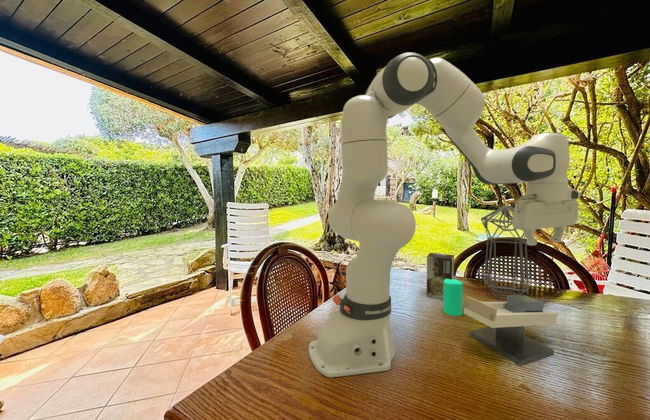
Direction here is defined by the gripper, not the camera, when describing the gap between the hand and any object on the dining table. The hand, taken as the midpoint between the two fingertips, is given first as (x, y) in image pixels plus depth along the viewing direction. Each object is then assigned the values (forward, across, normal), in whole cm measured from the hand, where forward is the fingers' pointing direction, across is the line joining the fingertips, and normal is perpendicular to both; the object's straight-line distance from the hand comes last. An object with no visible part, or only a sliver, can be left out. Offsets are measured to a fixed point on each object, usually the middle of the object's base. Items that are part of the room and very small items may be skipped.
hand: (544, 243), depth 74 cm
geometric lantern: (+27, +16, +24) cm, 39 cm away
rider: (+18, -9, -1) cm, 20 cm away
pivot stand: (+26, -14, -2) cm, 29 cm away
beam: (+19, -14, -2) cm, 23 cm away
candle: (+26, -14, +18) cm, 35 cm away
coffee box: (+26, -9, +31) cm, 41 cm away
